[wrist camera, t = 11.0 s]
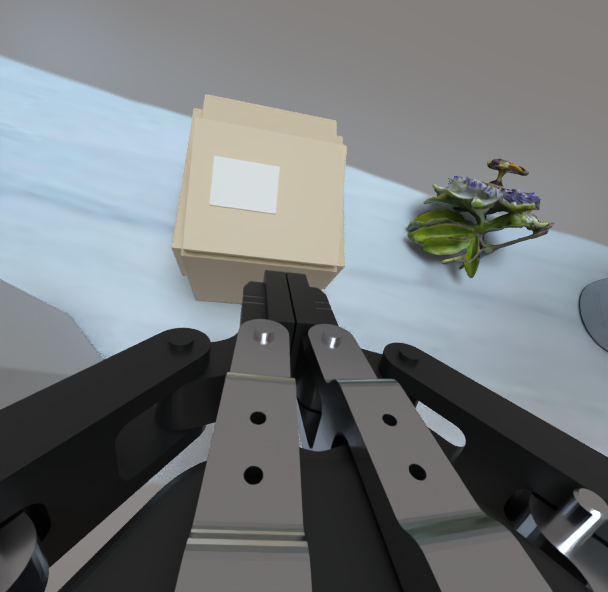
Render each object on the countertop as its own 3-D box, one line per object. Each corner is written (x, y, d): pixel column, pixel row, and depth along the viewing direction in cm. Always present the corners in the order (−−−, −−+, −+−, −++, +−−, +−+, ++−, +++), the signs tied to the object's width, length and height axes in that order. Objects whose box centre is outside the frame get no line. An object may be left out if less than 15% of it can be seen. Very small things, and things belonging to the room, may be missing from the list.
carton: (312, 200, 35) (346, 121, 25) (310, 309, 31) (349, 268, 21) (204, 184, 33) (193, 89, 23) (188, 299, 29) (167, 248, 19)
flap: (342, 151, 22) (347, 144, 21) (334, 267, 22) (338, 265, 21) (196, 124, 20) (195, 116, 19) (184, 250, 20) (181, 248, 19)
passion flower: (428, 231, 44) (527, 178, 37) (454, 303, 39) (574, 258, 32) (386, 192, 36) (500, 116, 29) (412, 275, 31) (556, 208, 25)
